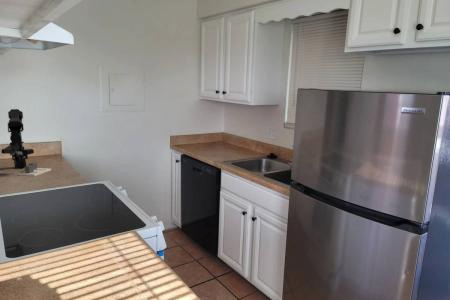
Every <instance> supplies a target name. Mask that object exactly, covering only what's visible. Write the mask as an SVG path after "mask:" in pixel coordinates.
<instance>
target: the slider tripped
mask: <svg viewBox="0 0 450 300" xmlns="http://www.w3.org/2000/svg"><path fill="white" fill-rule="evenodd" d="M24 171H25V173H30V172H33V171H34V167H33V165H29V164H28V165H26V166H25V168H24Z"/></svg>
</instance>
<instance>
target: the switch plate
mask: <svg viewBox="0 0 450 300" xmlns="http://www.w3.org/2000/svg"><path fill="white" fill-rule="evenodd" d="M50 171H52V168H49V167H48V168H43V167H37V169H34V171H33V172H30V173H25V170H24V171H20V172H17V174H16V175H17V176H28V177H36V176H39V175H42V174H44V173H48V172H50Z"/></svg>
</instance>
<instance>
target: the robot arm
mask: <svg viewBox="0 0 450 300" xmlns="http://www.w3.org/2000/svg"><path fill="white" fill-rule="evenodd" d="M7 114H8V115H7V116H8V122H7V133H10V136H9V139H10V142H9V145H8V146H6V147H5V148H2V149H1V150H0V153H1V155H2V154H5V155H7V154H8V155H10V156H11V159H12V161H13V164H14V167H13V170H23V169H25V166H27V161H26V160H28V159H29V155H31V154H34V153H35V150H34V149H33V148H25V147H24V146H23V144H24V141H23V139H22V133H23V132H24V130H25V129H24V123H23V119H24V112H23V111H21V110H20V109H19V108H12V109H10V111H8V112H7Z"/></svg>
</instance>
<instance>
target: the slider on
mask: <svg viewBox="0 0 450 300" xmlns="http://www.w3.org/2000/svg"><path fill="white" fill-rule="evenodd" d="M28 165H33V167H34V169H37V168H38V162H35V161H33V162H29V163H28Z"/></svg>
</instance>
